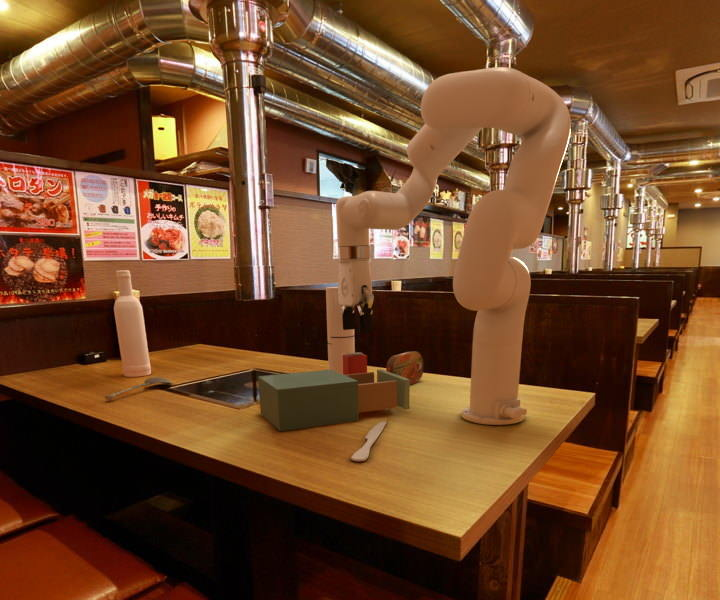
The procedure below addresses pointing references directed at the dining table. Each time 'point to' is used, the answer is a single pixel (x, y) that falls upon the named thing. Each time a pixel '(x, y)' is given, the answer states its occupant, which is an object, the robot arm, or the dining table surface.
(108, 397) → the soupspoon
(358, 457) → the butter knife
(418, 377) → the tin
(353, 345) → the cylindrical container
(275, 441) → the dining table surface
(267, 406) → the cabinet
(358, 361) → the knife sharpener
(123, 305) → the bottle
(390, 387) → the drawer
